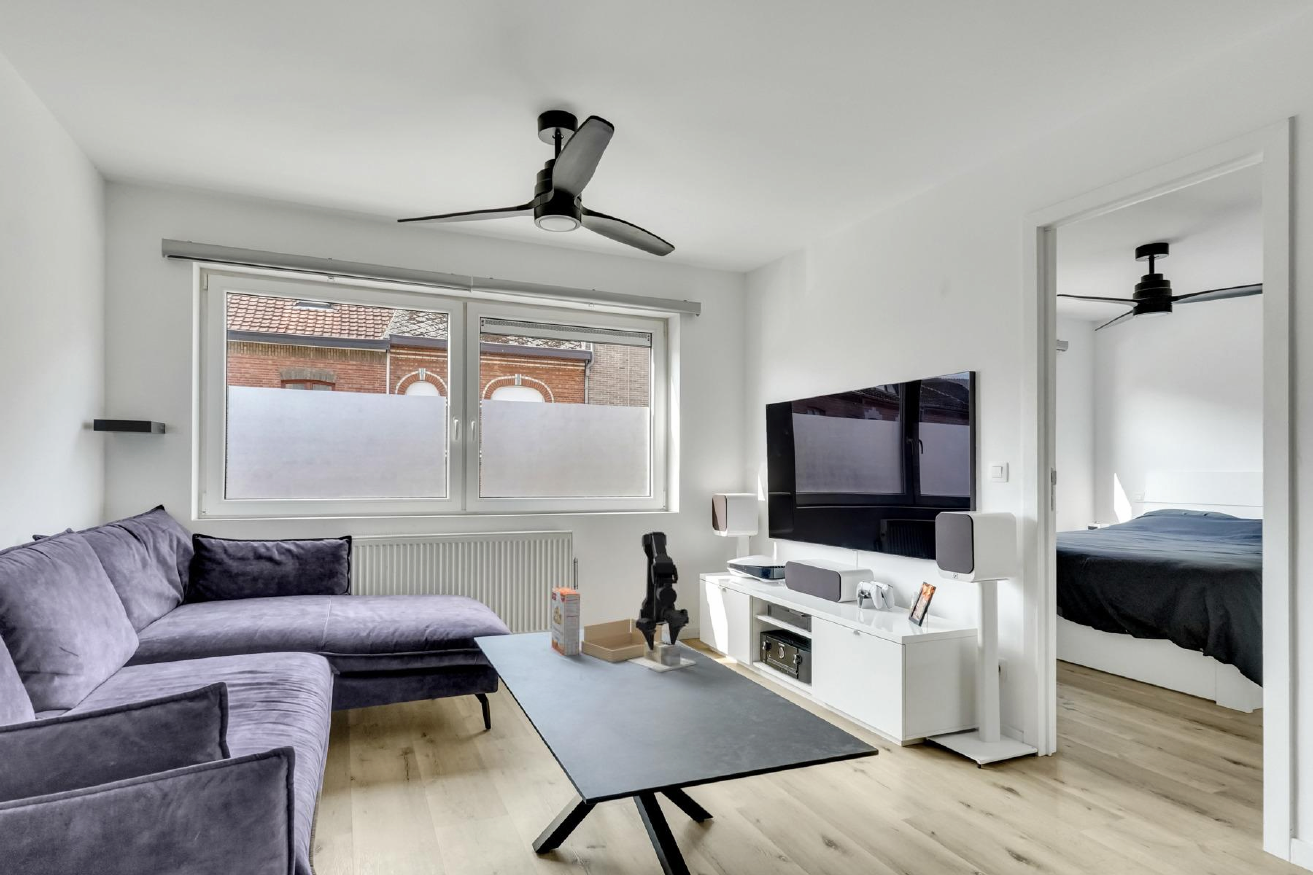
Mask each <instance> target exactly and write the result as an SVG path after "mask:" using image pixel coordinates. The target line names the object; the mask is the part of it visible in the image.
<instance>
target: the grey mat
mask: <svg viewBox="0 0 1313 875" xmlns="http://www.w3.org/2000/svg"><path fill="white" fill-rule="evenodd" d="M626 661H627V662H629V663H632V664H635V665H639V666H641V667H644V668H647V669H648V670H651V671H653V672H657V673H659V674H660V673H662V672H668V671H672V670H677V669H680V668H684V667H690V666H693V665H697V662H696V661H694V660H690V659H687V658H683V657H680V664H678V665H674V666H666V665H663V664H661V663H658V662H655V661H652V660H649V659H645V658H644V656H640V657H635V658H631V659H626Z"/></svg>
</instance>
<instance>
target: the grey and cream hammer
mask: <svg viewBox="0 0 1313 875" xmlns="http://www.w3.org/2000/svg"><path fill="white" fill-rule="evenodd" d="M681 649H682V648H681V646H678V645H676V644H675V645H671V644H666V643H663V644H662V643H658V642H655V641H654V648H653V650H650V648H649V646H648V643H647V642H645V643H644V656H643V657H644V658H645V659H649V660H652V661H655V662H658V663H661V664H663V665H666V666H674V665H678V664H680V658H681V651H682V650H681Z"/></svg>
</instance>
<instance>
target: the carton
mask: <svg viewBox="0 0 1313 875" xmlns="http://www.w3.org/2000/svg"><path fill="white" fill-rule="evenodd" d="M637 620H638V619H636V618H626V619H621V620H614V621H607V622H601V623H596V624H595V623H594V624H588V625H583V626H584V627H583V640H581V648H580V650H581V651H580V652H581V653H583V654H585V655H589V656H592V657H595V658H598V659H601V660H604V661H606V662H610V663H615V662H620V661H624V660H626V661H627V660H629V659H634V658H639V657H644V643H645V642H647V641H646V639H645V637H644V635H643V633H642V631H641V630H639V628H636V621H637ZM655 630H657V631H656V633H655V634H654V641H655V642H658V643H662V644H664V643H663V642H664V641H663V640H662V638H663V626H659V625H656V628H655Z"/></svg>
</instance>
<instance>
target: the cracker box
mask: <svg viewBox="0 0 1313 875" xmlns="http://www.w3.org/2000/svg"><path fill="white" fill-rule="evenodd" d="M580 594H581V593H579V592H577V591H575V590H573V589H572V588H569V587H567V586H565V587H561V586H560V587H553V588H551V648H554V650H556V651H557V652H558V653H559V654H561V655H562V656H572V655H573V656H575V655H579V654H580V615H581V614H580V612H581V609H580V608H581V607H580V606H581V604H580V603H581V602H580V601H581V600H580V599H581V595H580Z"/></svg>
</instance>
